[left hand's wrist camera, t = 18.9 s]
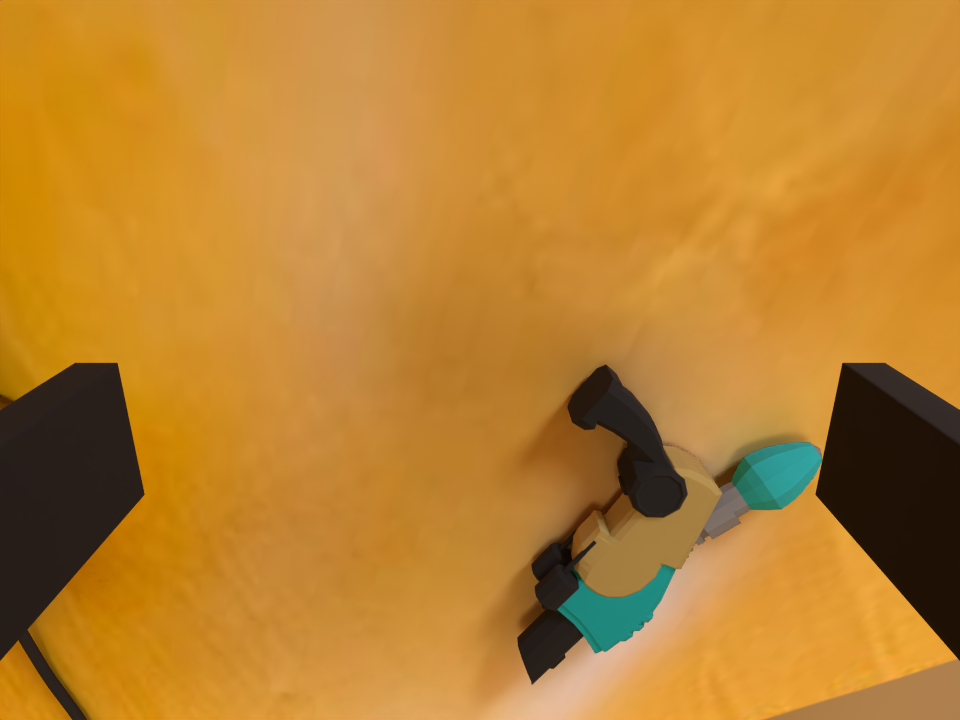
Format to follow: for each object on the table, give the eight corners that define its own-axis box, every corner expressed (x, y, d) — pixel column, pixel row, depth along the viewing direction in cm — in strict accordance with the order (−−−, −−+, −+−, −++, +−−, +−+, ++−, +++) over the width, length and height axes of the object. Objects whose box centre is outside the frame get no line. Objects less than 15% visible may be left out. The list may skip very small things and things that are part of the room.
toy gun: (396, 622, 44) (568, 727, 47) (670, 328, 37) (849, 475, 40) (402, 578, 48) (560, 676, 51) (650, 306, 41) (813, 440, 44)
